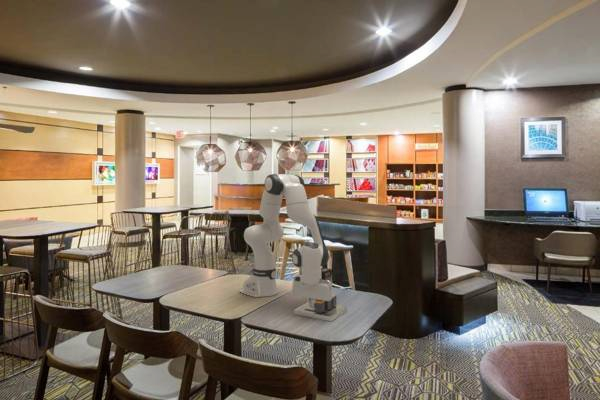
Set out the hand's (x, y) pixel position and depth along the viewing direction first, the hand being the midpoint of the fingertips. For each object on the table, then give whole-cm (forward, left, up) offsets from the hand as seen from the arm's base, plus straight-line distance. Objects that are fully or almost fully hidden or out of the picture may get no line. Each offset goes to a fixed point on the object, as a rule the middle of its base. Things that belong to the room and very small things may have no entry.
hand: (312, 307), depth 177 cm
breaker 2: (+5, +10, -1) cm, 11 cm away
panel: (+1, +5, -4) cm, 6 cm away
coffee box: (-7, +22, -4) cm, 23 cm away
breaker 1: (+5, +5, -1) cm, 7 cm away
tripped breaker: (+4, 0, -1) cm, 4 cm away
